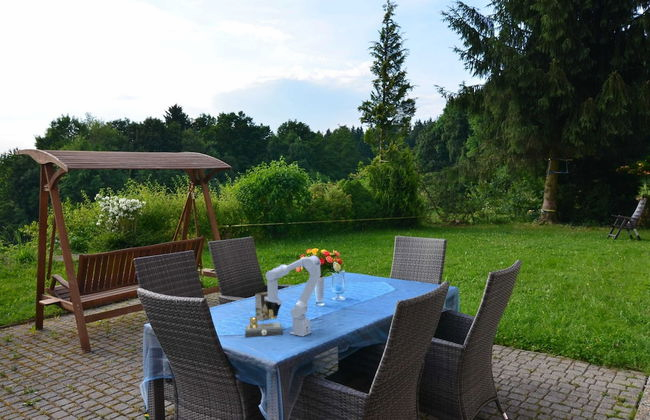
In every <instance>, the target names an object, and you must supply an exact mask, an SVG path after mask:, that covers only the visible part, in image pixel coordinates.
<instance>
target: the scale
mask: <svg viewBox="0 0 650 420" xmlns="http://www.w3.org/2000/svg"><path fill="white" fill-rule="evenodd" d="M283 335H284V334H283V326H282V324H281V323H280V322H268V323H258V327H255V328H251V327H250V324H247V325H245V338H253V337H255V338H256V337H268V336H269V337H272V336H283Z"/></svg>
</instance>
